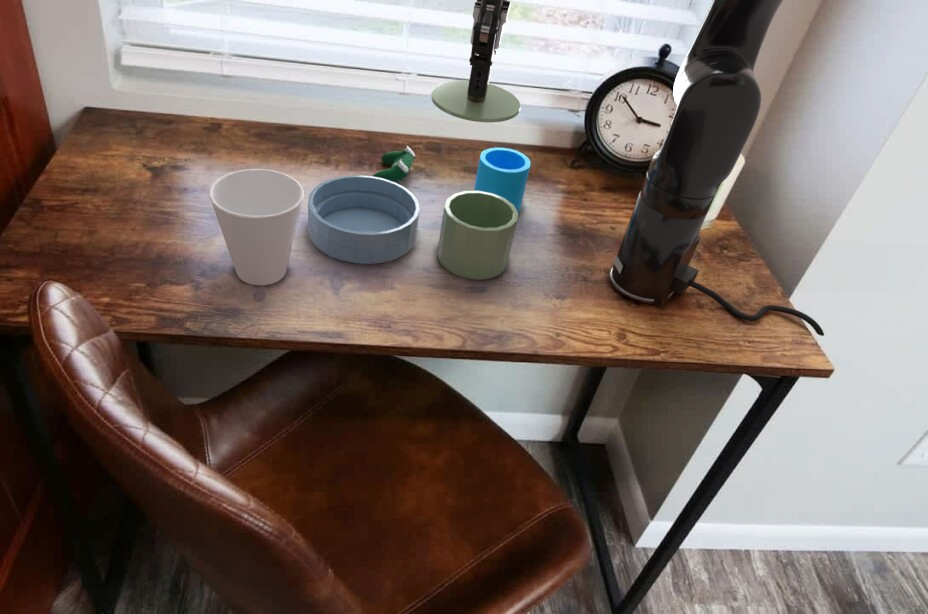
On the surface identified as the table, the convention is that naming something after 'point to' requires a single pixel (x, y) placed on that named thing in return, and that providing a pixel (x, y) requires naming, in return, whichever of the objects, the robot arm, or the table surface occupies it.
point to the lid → (475, 102)
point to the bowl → (362, 219)
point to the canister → (476, 234)
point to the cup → (258, 221)
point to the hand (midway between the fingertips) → (477, 90)
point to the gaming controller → (396, 165)
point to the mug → (503, 174)
